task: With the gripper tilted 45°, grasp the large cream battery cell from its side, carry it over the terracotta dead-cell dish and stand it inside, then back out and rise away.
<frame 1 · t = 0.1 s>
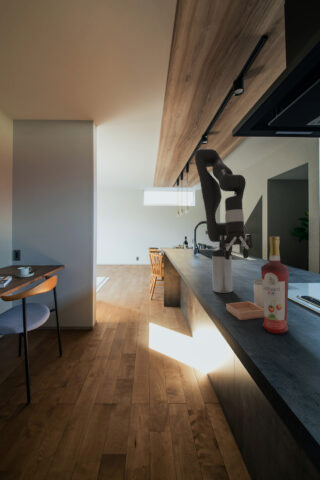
hand: (236, 258, 96), 17 cm above the countertop, fingers open, 8 cm apart
dead-cell dish: (245, 313, 81), on the countertop
battery cell: (260, 307, 86), on the countertop
liquor: (275, 331, 67), on the countertop
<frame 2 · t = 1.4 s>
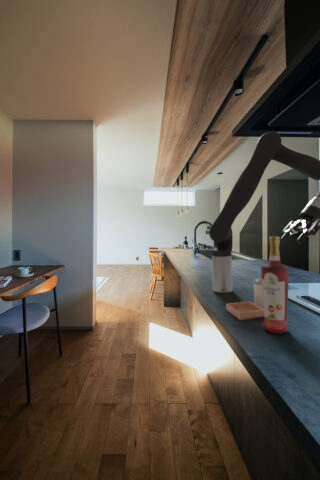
hand: (290, 241, 87), 25 cm above the countertop, fingers open, 8 cm apart
nothing on the countertop moved.
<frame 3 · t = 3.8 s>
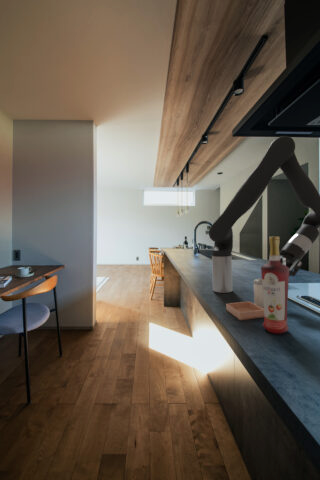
hand: (270, 279, 87), 10 cm above the countertop, fingers open, 8 cm apart
nothing on the countertop moved.
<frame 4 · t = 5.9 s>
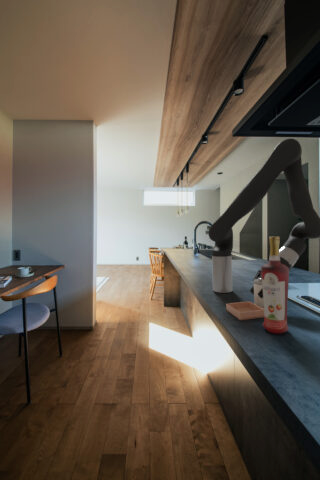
hand: (255, 294, 86), 5 cm above the countertop, fingers closed on battery cell, 4 cm apart
battery cell: (260, 307, 86), on the countertop, touching gripper
everything else where it was.
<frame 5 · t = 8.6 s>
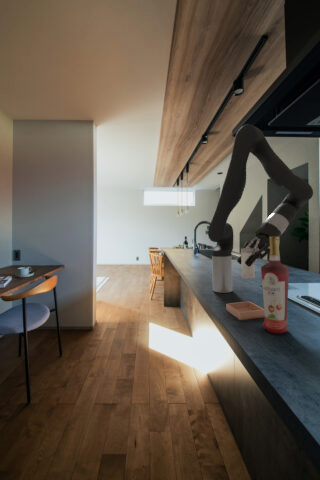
hand: (243, 263, 80), 18 cm above the countertop, fingers closed on battery cell, 4 cm apart
battery cell: (248, 277, 81), point 13 cm above the countertop, touching gripper
everything else where it was.
when the fingers open (7 cm above the countertop, at t = 11.4 s): battery cell stays where it is, resting on dead-cell dish.
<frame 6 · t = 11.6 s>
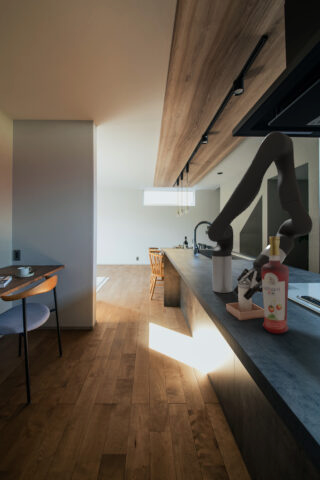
hand: (240, 295, 80), 7 cm above the countertop, fingers open, 6 cm apart
battery cell: (245, 312, 81), point 1 cm above the countertop, touching dead-cell dish
everything else where it was.
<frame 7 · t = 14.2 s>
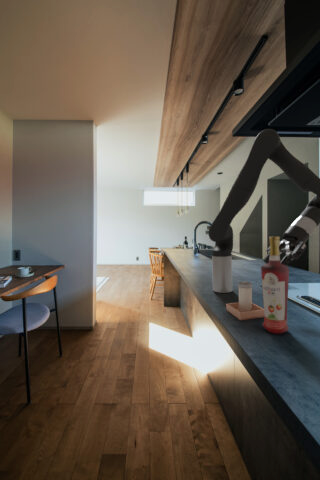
hand: (272, 264, 82), 17 cm above the countertop, fingers open, 8 cm apart
nothing on the countertop moved.
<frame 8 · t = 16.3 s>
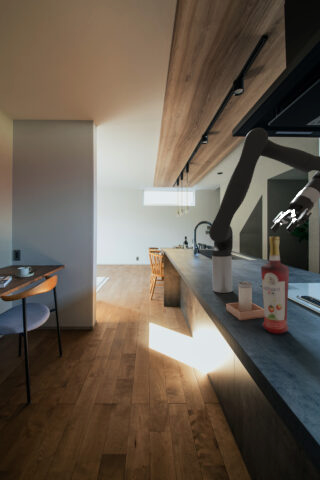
hand: (279, 231, 88), 29 cm above the countertop, fingers open, 8 cm apart
nothing on the countertop moved.
at the end: battery cell 0.1 cm off-centre on the dead-cell dish, point 0.5 cm above the dead-cell dish's base; battery cell tilted 1°; the gripper is holding nothing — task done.
